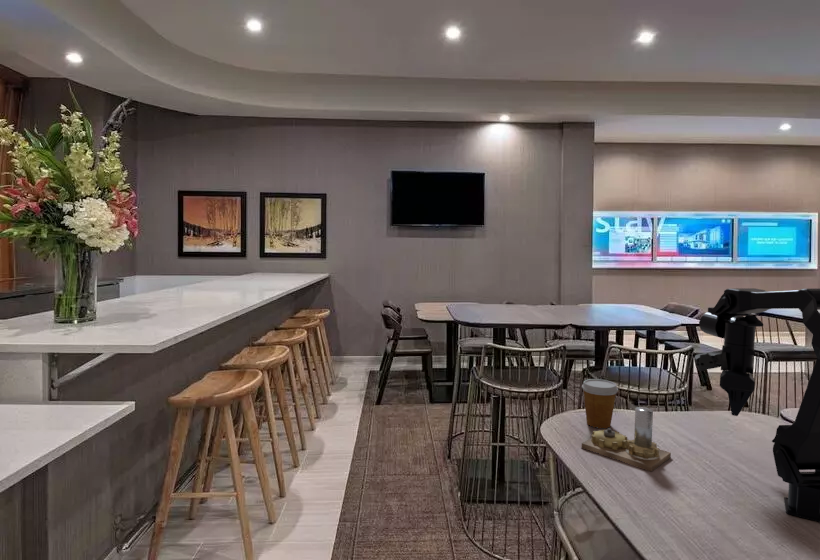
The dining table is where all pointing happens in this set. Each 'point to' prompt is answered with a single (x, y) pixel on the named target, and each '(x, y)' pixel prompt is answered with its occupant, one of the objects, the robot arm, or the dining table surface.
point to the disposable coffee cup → (599, 402)
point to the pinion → (643, 435)
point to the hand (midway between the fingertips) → (734, 409)
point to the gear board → (621, 449)
